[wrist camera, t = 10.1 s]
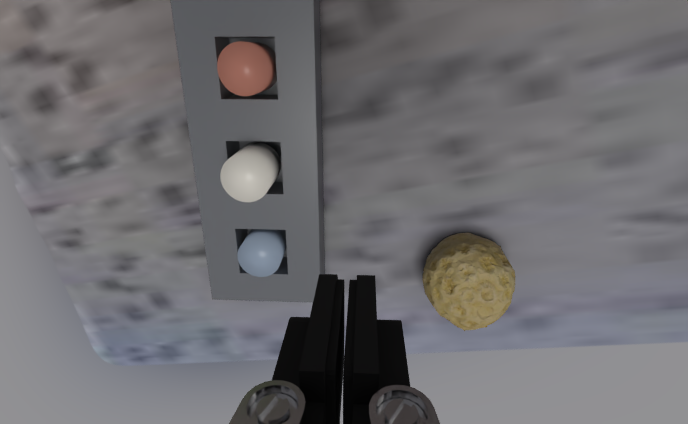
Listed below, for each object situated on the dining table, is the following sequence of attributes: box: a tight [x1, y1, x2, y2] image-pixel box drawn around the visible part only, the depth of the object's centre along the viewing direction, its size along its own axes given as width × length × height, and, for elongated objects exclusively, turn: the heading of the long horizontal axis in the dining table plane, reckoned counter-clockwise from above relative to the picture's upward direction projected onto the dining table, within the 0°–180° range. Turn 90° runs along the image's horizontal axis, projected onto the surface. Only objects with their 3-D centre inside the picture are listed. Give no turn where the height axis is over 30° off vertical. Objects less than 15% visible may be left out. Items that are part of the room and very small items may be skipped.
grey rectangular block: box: [170, 0, 325, 302], centre depth 41 cm, size 30×12×5 cm, turn 0°
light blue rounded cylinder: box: [237, 229, 287, 277], centre depth 43 cm, size 4×4×5 cm
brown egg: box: [217, 41, 277, 96], centre depth 37 cm, size 4×4×5 cm
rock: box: [423, 232, 515, 331], centre depth 44 cm, size 10×11×10 cm
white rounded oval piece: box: [220, 142, 281, 202], centre depth 38 cm, size 4×4×5 cm
